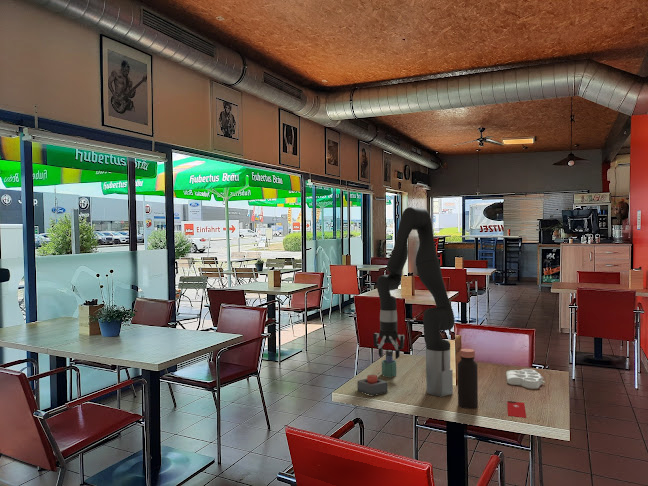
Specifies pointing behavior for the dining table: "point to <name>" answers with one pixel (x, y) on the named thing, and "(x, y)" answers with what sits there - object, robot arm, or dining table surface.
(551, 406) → the dining table surface
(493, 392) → the dining table surface
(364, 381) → the button console
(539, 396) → the dining table surface
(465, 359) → the bottle
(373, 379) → the button
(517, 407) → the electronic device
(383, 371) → the pen cup
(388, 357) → the marker
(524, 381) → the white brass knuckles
